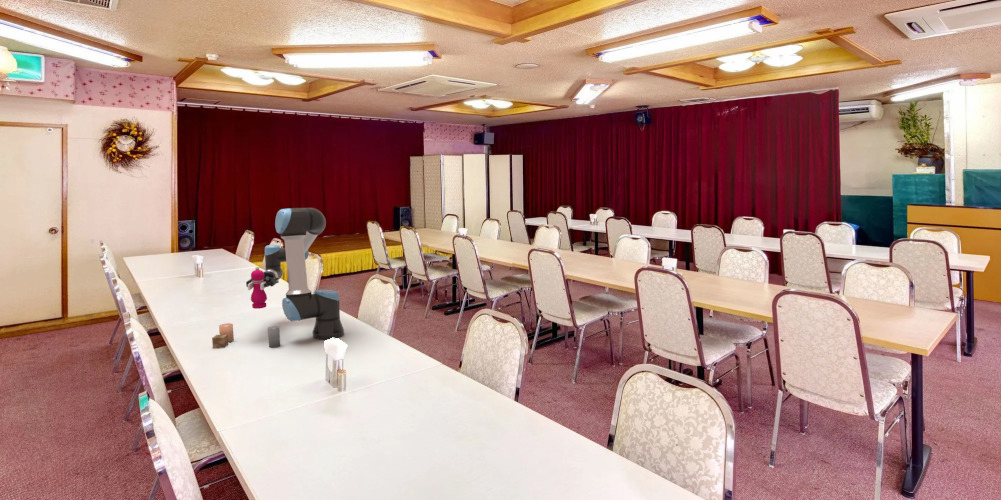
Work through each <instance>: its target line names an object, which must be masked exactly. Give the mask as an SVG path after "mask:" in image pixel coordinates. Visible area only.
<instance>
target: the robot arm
mask: <svg viewBox="0 0 1001 500" xmlns="http://www.w3.org/2000/svg"><path fill="white" fill-rule="evenodd" d="M274 222H275V223H274V226H275V231H276V233H278V234H279V235H280V238H281V239H282V240H283V241H284V247H280V245H279V244H269V245H266V246H265V247H264V260H265V267H264V268H265V271H263V272H264V278H263V283H261V284H260V289H261V290H263V289H265V288H268V287H274V286H275V285H276V284H279V281H280V279H281V278H282V277H283V274H284V271H283V269H282V267H281V266H282V265H281V264H282V263H286V272H287V273H286V274H287V284H288V290H287V292H286V293H285V297H284V298H282V301H281V305H282V310H283V314H284V316H285V317H286V319H288V320H289V321H290V322H295V321H296V322H298V321H302V320H308V319H314V318H315V323H314V327H313V330H312V337H313V339H316V340H329V339H328V338H332V337H337V338H336V339H339V338H341V337H342V336H344V335H345V329H344V327H343V324H342V322H341V315H340V314H341V311H340V309H341V308H340V306H341V305H340V294H339V292H338V291H336V290H333V289H323V288H322V289H316V290H314V292H313V293H312V290H311V289H309V288H308V276H307V275H308V274H307V266H306V260H307V259H308V258H309V255H310V254H309V253H310V252H309V248H310V247H311V246H312V244H313V243H314V241H315V240H316V238H317V237H318V236H319V235H320V234H322V233H323V231H324V230H325V228H326V226H327V225H326V224H327V220H326V217H325V216H324V214H323V213H322V212H321V211H320V210H319V209H317V208H315V207H292V208H289V207H288V208H281V209H279V210H278V211H277V213H276V216H275V221H274ZM252 280H253V279H252V278H251V277H250V279H248V280H247V281H245V283H246V284H245V285H246V287H247V290H248V291H251V290H253V289H254V285H253V283H252V282H253V281H252Z"/></svg>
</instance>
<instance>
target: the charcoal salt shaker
mask: <svg viewBox="0 0 1001 500" xmlns="http://www.w3.org/2000/svg"><path fill="white" fill-rule="evenodd" d="M280 331H281V329H280V326H278V325H273V326H268V327H267V337H268V348H271V349H272V348H273V349H274V348H279V347H281V333H280Z"/></svg>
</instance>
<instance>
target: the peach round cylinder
mask: <svg viewBox="0 0 1001 500" xmlns="http://www.w3.org/2000/svg"><path fill="white" fill-rule="evenodd" d="M218 333H219V334H218V335H228V344H229V343H232V342H234V340H235V339H234V338H235V337H234V336H235V335H234V324H233V323H222V324H219V325H218Z"/></svg>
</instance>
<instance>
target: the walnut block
mask: <svg viewBox="0 0 1001 500" xmlns="http://www.w3.org/2000/svg"><path fill="white" fill-rule="evenodd" d="M211 342H212V349H225V348H226V347H227V346H228V345H229V343H228V335H220V334H216V335H214V336H213V337H211Z"/></svg>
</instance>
